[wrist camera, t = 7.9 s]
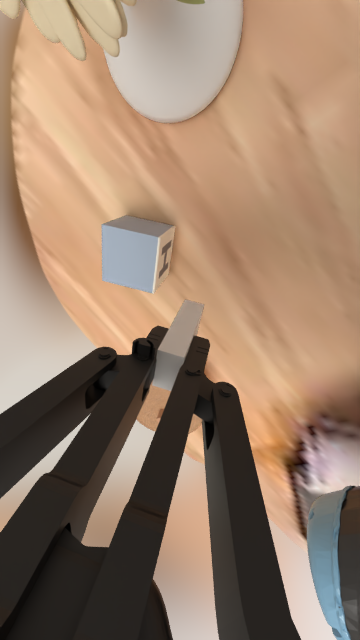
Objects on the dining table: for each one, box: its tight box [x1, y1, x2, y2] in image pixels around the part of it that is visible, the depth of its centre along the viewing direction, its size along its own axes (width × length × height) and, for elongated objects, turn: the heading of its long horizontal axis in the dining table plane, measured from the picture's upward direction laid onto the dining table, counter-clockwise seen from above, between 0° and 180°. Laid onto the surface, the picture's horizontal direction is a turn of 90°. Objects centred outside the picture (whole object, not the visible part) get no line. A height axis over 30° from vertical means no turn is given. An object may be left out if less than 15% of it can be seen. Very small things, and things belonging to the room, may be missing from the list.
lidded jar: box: [136, 381, 202, 434], centre depth 36 cm, size 11×11×9 cm
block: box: [102, 215, 175, 294], centre depth 28 cm, size 6×6×6 cm
